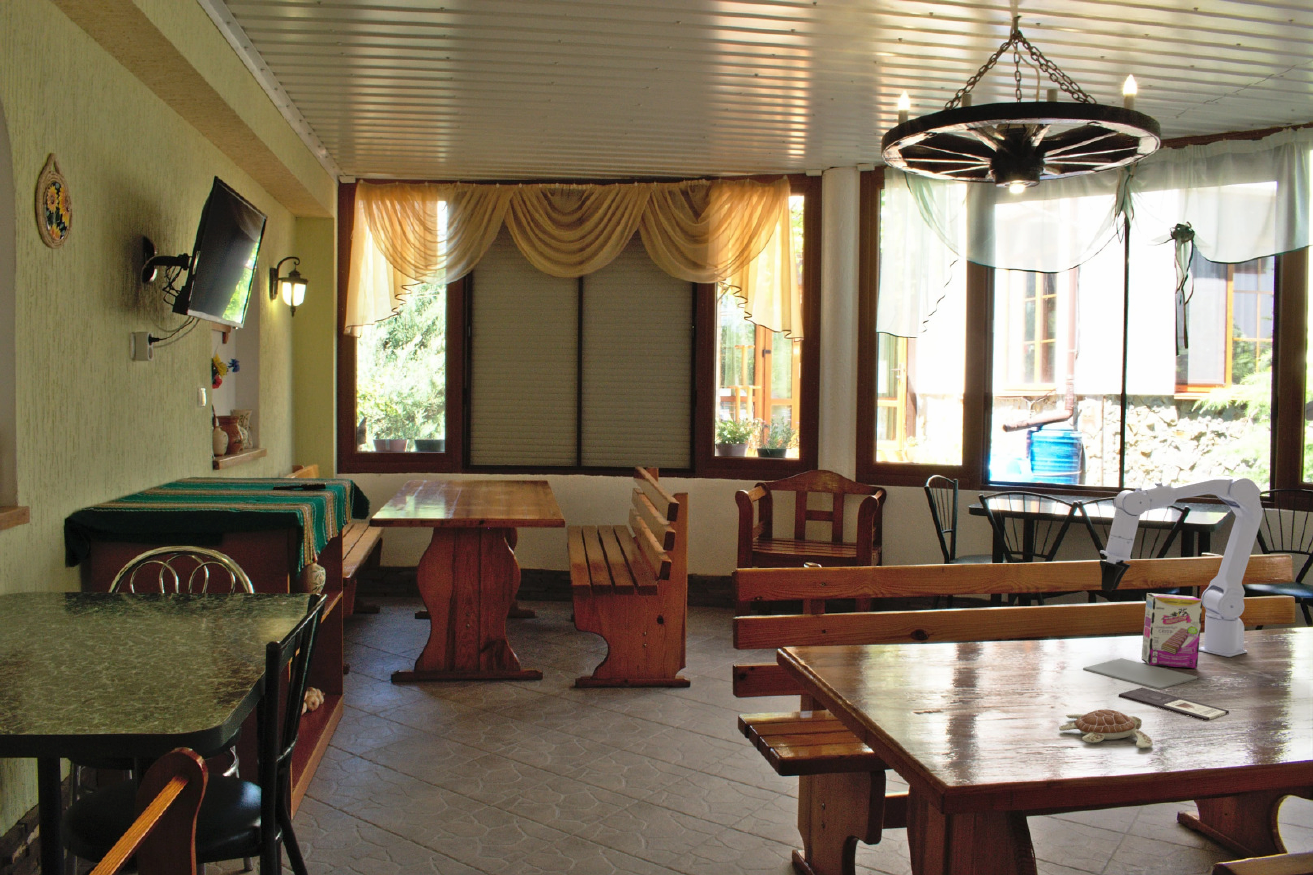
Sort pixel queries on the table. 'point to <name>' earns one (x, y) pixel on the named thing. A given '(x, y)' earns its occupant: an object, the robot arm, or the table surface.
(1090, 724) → the decorative turtle
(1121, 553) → the robot arm
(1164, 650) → the candy bar box
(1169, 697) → the chocolate bar
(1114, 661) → the rubber mat
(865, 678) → the table surface
